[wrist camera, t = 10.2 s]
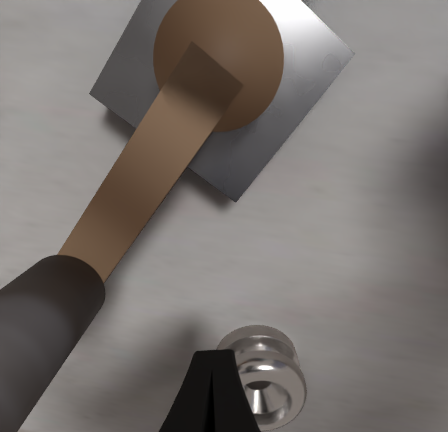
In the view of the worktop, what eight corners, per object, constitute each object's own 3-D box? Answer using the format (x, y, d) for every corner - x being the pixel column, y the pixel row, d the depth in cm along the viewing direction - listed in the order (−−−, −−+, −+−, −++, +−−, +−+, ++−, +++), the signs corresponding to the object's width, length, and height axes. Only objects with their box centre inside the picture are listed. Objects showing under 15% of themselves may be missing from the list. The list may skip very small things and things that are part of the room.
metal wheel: (273, 397, 18) (310, 340, 16) (282, 447, 15) (328, 384, 14) (202, 374, 17) (234, 313, 16) (198, 422, 15) (236, 353, 13)
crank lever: (207, -23, 9) (170, -360, 3) (298, 60, 10) (430, -55, 4) (29, 269, 12) (-168, 415, 6) (107, 314, 13) (3, 485, 7)
